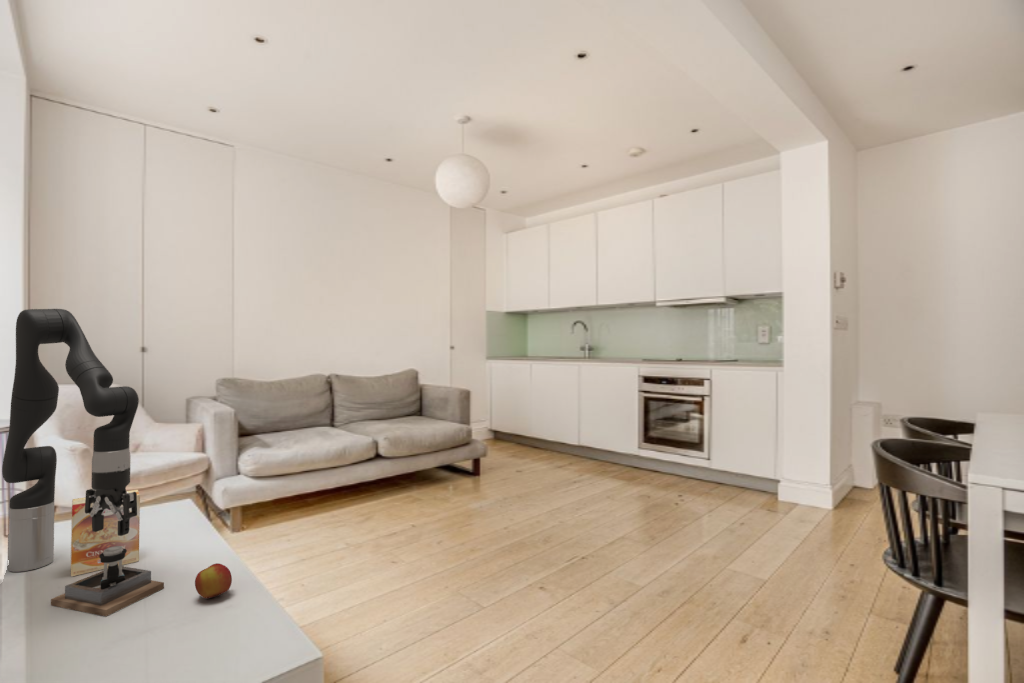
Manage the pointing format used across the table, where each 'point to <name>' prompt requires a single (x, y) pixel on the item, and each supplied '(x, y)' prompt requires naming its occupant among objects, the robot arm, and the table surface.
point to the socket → (91, 595)
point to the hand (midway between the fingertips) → (110, 532)
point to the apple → (213, 581)
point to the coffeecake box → (100, 538)
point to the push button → (112, 566)
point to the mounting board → (109, 606)
